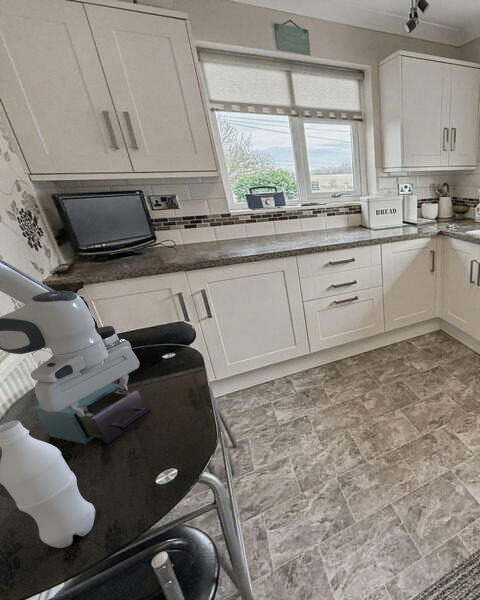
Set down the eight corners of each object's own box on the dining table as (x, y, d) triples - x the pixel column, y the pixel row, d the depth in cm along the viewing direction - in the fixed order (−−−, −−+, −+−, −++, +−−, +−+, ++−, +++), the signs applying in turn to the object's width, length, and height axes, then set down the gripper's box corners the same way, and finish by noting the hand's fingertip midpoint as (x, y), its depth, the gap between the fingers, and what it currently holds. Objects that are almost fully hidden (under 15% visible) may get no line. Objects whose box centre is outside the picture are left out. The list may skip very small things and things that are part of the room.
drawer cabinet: (132, 412, 94) (119, 384, 90) (85, 444, 83) (68, 413, 80) (99, 407, 98) (85, 380, 94) (50, 436, 87) (32, 407, 83)
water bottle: (76, 514, 64) (10, 412, 55) (110, 513, 64) (50, 410, 55) (37, 554, 58) (-44, 445, 49) (75, 553, 57) (0, 443, 48)
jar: (109, 364, 122) (95, 336, 118) (92, 363, 124) (78, 335, 120) (131, 352, 131) (119, 325, 126) (115, 351, 132) (103, 325, 128)
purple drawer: (162, 416, 89) (151, 392, 87) (121, 446, 80) (108, 421, 77) (116, 409, 94) (105, 386, 91) (73, 436, 85) (59, 412, 82)
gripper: (118, 335, 89) (135, 378, 94) (20, 378, 71) (48, 428, 76) (135, 337, 88) (152, 380, 92) (39, 381, 69) (67, 432, 74)
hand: (104, 402), depth 84 cm, fingers open, 8 cm apart
